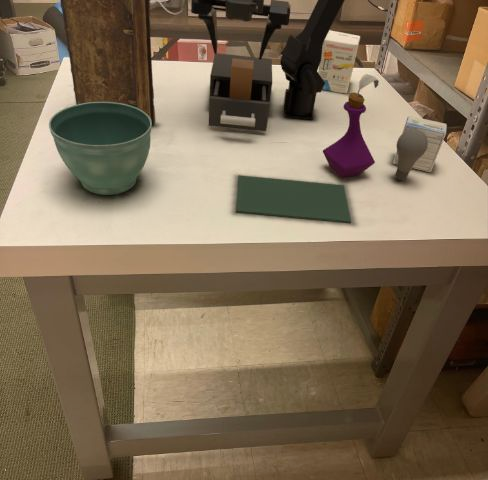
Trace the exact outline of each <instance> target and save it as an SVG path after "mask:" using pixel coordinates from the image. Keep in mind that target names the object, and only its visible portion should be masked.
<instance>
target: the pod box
mask: <svg viewBox="0 0 488 480" xmlns="http://www.w3.org/2000/svg"><path fill="white" fill-rule="evenodd" d="M253 62H254V61H252V60H243V59H234V58H233V59H232V66H231V80H230V95H229V98H234V99H244V100H250V97H251V87H252V76H253Z"/></svg>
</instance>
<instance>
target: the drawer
mask: <svg viewBox="0 0 488 480" xmlns="http://www.w3.org/2000/svg"><path fill="white" fill-rule="evenodd" d="M229 95H230V81H226V80H216V85H215V90H214V96H210V95H209V98H208V99H209V100H208V121H207V125H208V127H216V128H225V129H236V130H244V131H245V130H246V131H256V132H266V133H267V130H268V129H267V128H268V120H269V112H270V106H271V105H270V104H271V102H270V103H269V102H266V85H264V84H255V83H252V87H251V97H250V100H244V99H234V98H229Z"/></svg>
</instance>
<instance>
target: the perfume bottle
mask: <svg viewBox="0 0 488 480" xmlns="http://www.w3.org/2000/svg"><path fill="white" fill-rule="evenodd" d="M379 81H380V80H379V79H378V78H377V77H375V76H374V75H371V74H368V73H366V74H364V75H363V76H361V78H360V80H359V82H358V90H357V92H353V91H352V92H350V93H348V99H347V100H348V101H345V103H344V104H343V107H342V108H343V109H344V111H346V113H347V115H348V119H349V121H348V127H347V130H346V132H345V133H344V135H343V136H342V137H341V138H339V139H338V140H337V141H336V142H333V143H332V144H330V145H329V146H327V147H326V148H324V149H323V150H322V153H323V156H324V157H325V159H326V162H327V164H328V166H329V168H330V169H331V170H332V171H333V172H334V173H335V174H336V175H337V176H339V177H340V178H341V179H346V178H351V177H357V176H359V175H361V174H362V173H364V172H365V171H367V169H368V170H369V168H370V167H373V165H375V164H376V161H375V159H374V157H373V155H372V154H371V151H370V149H369V147H368V145H367V143H366V141H365V139H364V137H363V134H362V129H361V122H360V121H361V115H362V114H364V113H366V111H367V106H366V105H365V104H364V102H365V98H364V96H363V95H362V94H361V93H360V91H361V90H363V88H365V87H367V86H368V85H370V84H372V83H373V86H374V89H376V88H377V87H378V86H379V83H380V82H379Z"/></svg>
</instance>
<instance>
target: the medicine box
mask: <svg viewBox="0 0 488 480" xmlns="http://www.w3.org/2000/svg"><path fill="white" fill-rule="evenodd" d="M447 128H448V125H447V123H443V122H440V121H434V120H431V119H426V118H422V117H417V116H412V115H408V116H407V117H406V121H405V124H404V127H403V130H402V133H401V135H402V134H403V133H404V132H405V131H407V130H410V129H418V130H420V131H422V132H423V133H424V134H425V135H426V137H427V140H428V146H427V149H426V151H425V153H424V154H423V155H422V156H421V157H420V158H419V159H418V160H417V161H416V162H415V163H414V165H413V167H412V169H415V170H418V171H424V172H427V173H432V171H433V168H434V164H435V162H436V160H437V157H438V155H439V153H440V150H441V147H442V145H443V143H444V140H445V137H446V135H447ZM392 164H394V165H397V164H398V153H397V151H396V152H395V155H394V159H393V162H392Z"/></svg>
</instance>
